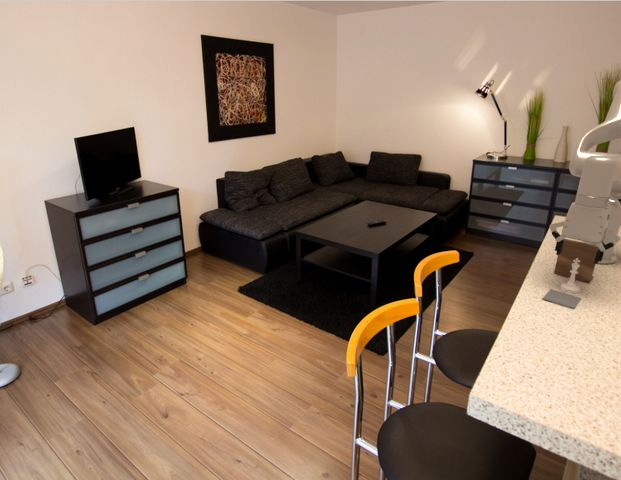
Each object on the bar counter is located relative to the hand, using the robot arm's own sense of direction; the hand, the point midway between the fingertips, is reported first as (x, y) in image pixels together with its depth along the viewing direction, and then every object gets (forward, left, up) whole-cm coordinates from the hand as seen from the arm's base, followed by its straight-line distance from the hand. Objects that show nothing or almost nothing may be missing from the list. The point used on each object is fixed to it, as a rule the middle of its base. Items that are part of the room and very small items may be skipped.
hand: (576, 258), depth 119 cm
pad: (+8, 0, -10) cm, 13 cm away
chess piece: (-1, 0, -11) cm, 10 cm away
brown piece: (-11, -2, -10) cm, 15 cm away
